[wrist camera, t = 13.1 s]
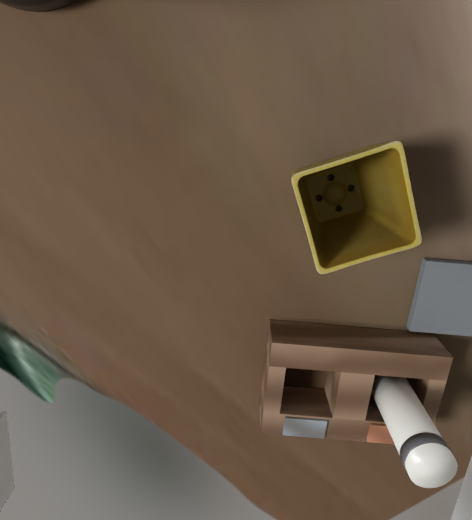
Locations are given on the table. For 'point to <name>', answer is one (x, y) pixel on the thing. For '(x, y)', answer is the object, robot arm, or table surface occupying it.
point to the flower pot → (358, 206)
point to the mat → (442, 298)
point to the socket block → (345, 378)
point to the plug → (413, 433)
